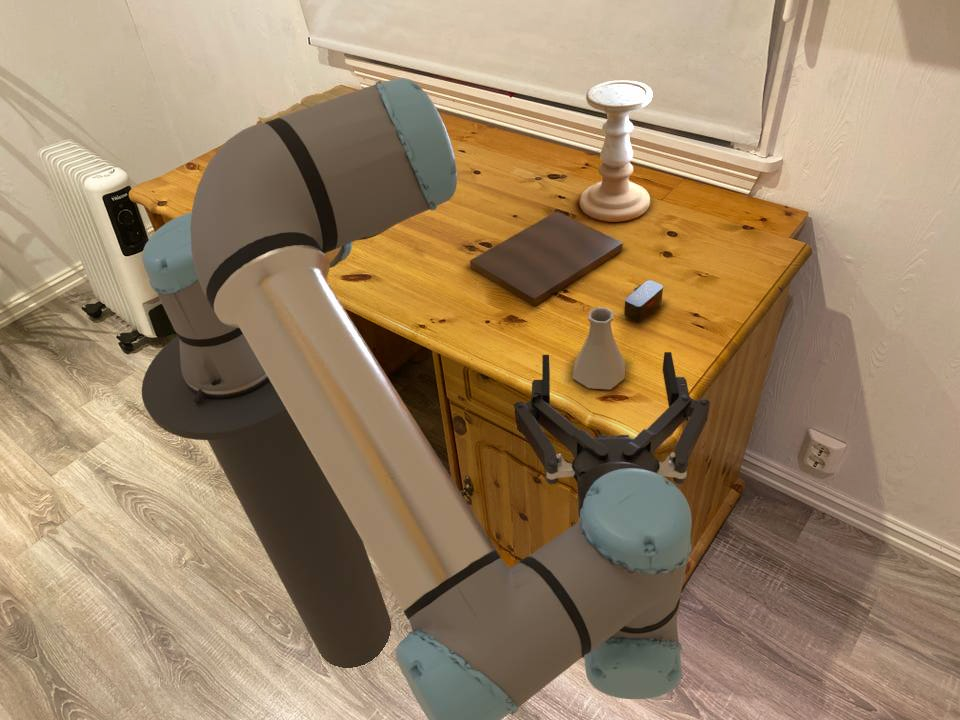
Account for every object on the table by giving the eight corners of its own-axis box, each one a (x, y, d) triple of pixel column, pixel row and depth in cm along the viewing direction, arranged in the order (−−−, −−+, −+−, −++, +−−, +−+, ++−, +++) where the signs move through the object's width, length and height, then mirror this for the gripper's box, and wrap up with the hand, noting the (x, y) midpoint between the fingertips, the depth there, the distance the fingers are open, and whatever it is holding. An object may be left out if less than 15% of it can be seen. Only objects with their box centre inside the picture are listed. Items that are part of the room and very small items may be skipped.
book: (301, 164, 149) (293, 137, 145) (259, 143, 159) (251, 117, 155) (392, 121, 161) (388, 95, 157) (349, 104, 171) (343, 79, 167)
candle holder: (626, 230, 120) (632, 115, 107) (565, 210, 127) (564, 99, 113) (662, 198, 127) (673, 85, 113) (604, 180, 133) (607, 72, 120)
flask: (614, 397, 92) (617, 339, 86) (563, 381, 95) (562, 324, 88) (634, 362, 97) (638, 304, 90) (584, 348, 100) (585, 291, 93)
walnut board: (534, 306, 108) (534, 298, 107) (470, 267, 116) (469, 260, 115) (622, 250, 116) (623, 242, 115) (556, 218, 125) (556, 210, 124)
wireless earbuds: (666, 300, 106) (668, 283, 104) (638, 325, 102) (639, 307, 100) (639, 289, 108) (641, 272, 106) (611, 313, 105) (612, 295, 103)
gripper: (488, 539, 70) (499, 387, 85) (752, 542, 67) (714, 383, 82) (481, 492, 65) (494, 339, 80) (767, 493, 62) (723, 334, 77)
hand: (605, 361), depth 81 cm, fingers open, 13 cm apart
